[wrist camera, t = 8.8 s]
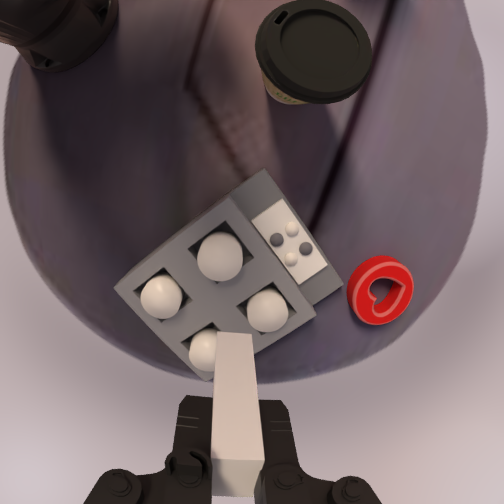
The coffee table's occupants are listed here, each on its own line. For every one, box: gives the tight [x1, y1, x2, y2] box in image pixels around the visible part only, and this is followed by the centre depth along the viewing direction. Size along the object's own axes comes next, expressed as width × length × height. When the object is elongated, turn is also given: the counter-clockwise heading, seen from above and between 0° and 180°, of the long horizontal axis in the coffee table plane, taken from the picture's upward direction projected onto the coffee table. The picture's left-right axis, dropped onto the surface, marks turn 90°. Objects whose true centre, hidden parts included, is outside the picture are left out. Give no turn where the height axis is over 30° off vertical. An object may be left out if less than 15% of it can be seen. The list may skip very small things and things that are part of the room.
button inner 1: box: [141, 272, 184, 319], centre depth 37 cm, size 5×5×3 cm
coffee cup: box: [255, 0, 372, 104], centre depth 27 cm, size 10×10×15 cm
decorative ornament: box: [347, 256, 414, 325], centre depth 42 cm, size 10×10×3 cm
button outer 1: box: [189, 328, 221, 372], centre depth 38 cm, size 5×5×3 cm
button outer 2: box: [247, 286, 288, 332], centre depth 38 cm, size 5×5×3 cm
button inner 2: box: [197, 231, 243, 281], centre depth 35 cm, size 5×5×3 cm
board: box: [114, 168, 343, 382], centre depth 39 cm, size 18×23×4 cm
